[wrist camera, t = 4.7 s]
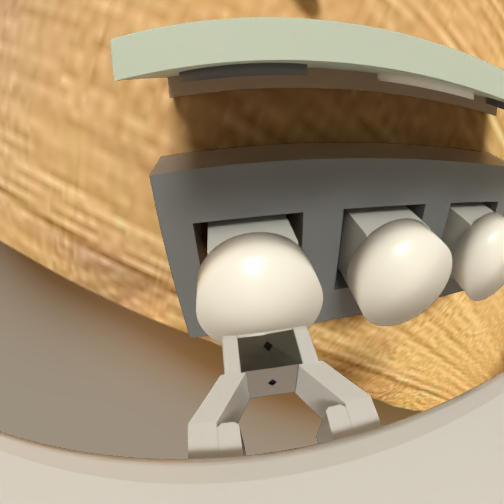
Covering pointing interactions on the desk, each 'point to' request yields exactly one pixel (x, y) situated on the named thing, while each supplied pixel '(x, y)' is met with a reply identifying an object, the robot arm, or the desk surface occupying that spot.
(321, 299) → the button
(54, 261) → the desk surface
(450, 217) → the button
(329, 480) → the robot arm
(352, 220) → the button middle
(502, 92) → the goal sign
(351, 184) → the button board
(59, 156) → the desk surface
